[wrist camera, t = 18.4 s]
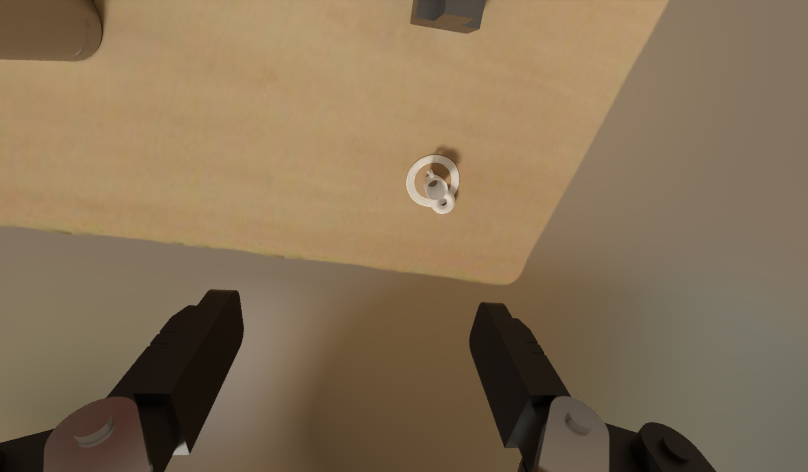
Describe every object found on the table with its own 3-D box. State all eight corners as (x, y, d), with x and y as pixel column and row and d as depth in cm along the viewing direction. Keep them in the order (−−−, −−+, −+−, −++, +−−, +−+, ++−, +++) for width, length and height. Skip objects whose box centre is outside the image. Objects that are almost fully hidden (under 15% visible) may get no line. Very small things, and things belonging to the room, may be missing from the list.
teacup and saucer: (455, 209, 50) (462, 220, 46) (405, 210, 49) (408, 222, 45) (460, 153, 45) (468, 160, 42) (406, 154, 45) (409, 161, 41)
